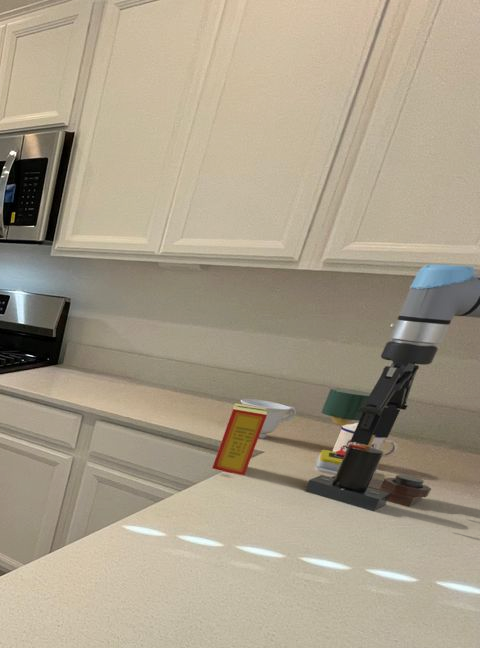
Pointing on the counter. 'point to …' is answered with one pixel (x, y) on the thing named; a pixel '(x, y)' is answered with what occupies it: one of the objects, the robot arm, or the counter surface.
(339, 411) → the desk lamp
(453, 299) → the robot arm
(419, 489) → the lamp base
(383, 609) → the counter surface
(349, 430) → the teacup with lid
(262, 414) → the baking soda box
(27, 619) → the counter surface
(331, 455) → the emergency button
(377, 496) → the dimmer panel
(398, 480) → the lamp button
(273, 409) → the teacup
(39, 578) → the counter surface
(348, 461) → the black pen holder
